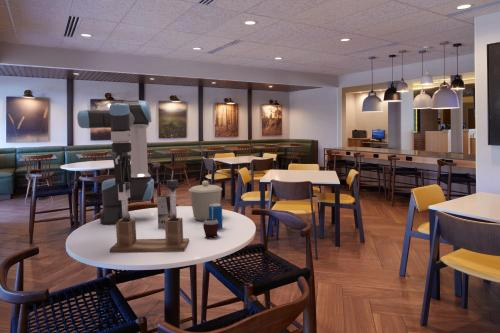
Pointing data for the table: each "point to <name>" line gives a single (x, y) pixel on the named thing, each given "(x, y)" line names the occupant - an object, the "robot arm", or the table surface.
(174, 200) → the plunger
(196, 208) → the canister
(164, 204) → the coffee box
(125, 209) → the plunger
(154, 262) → the table surface
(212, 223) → the mate gourd
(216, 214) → the beverage can
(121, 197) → the robot arm
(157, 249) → the stand
